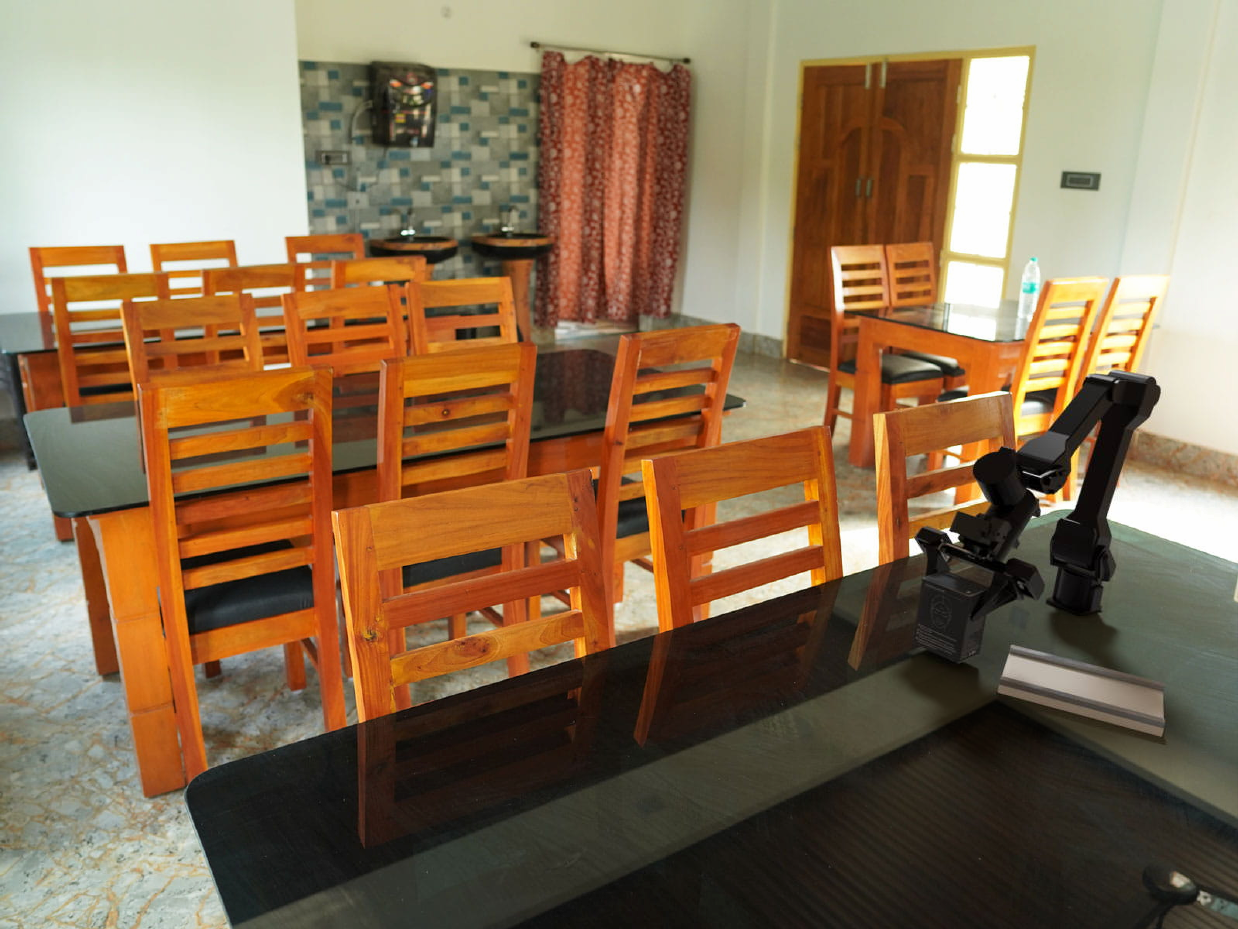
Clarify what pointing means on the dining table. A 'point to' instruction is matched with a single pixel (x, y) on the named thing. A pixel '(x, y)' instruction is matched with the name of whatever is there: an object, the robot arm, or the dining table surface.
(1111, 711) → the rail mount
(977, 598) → the box
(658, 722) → the dining table surface
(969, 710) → the dining table surface
